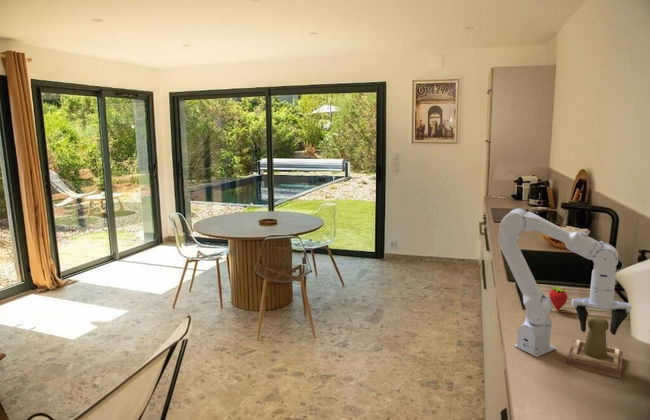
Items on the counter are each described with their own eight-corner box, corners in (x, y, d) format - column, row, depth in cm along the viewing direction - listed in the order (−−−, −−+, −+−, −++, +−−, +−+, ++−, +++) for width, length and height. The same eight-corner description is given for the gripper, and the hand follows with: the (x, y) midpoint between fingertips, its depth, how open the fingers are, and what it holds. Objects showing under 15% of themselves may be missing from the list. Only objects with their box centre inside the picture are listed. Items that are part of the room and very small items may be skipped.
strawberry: (550, 313, 162) (552, 287, 160) (546, 305, 169) (548, 280, 167) (568, 314, 160) (570, 288, 158) (563, 306, 167) (565, 281, 166)
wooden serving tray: (620, 378, 120) (621, 368, 119) (566, 364, 127) (567, 355, 127) (622, 357, 130) (623, 348, 130) (572, 346, 138) (573, 337, 137)
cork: (586, 346, 133) (589, 312, 131) (609, 352, 129) (613, 317, 127) (580, 353, 129) (584, 318, 127) (604, 361, 125) (608, 324, 123)
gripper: (626, 284, 126) (621, 328, 129) (570, 280, 130) (566, 323, 133) (636, 293, 120) (630, 339, 122) (576, 289, 123) (572, 333, 126)
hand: (597, 331), depth 127 cm, fingers open, 7 cm apart
